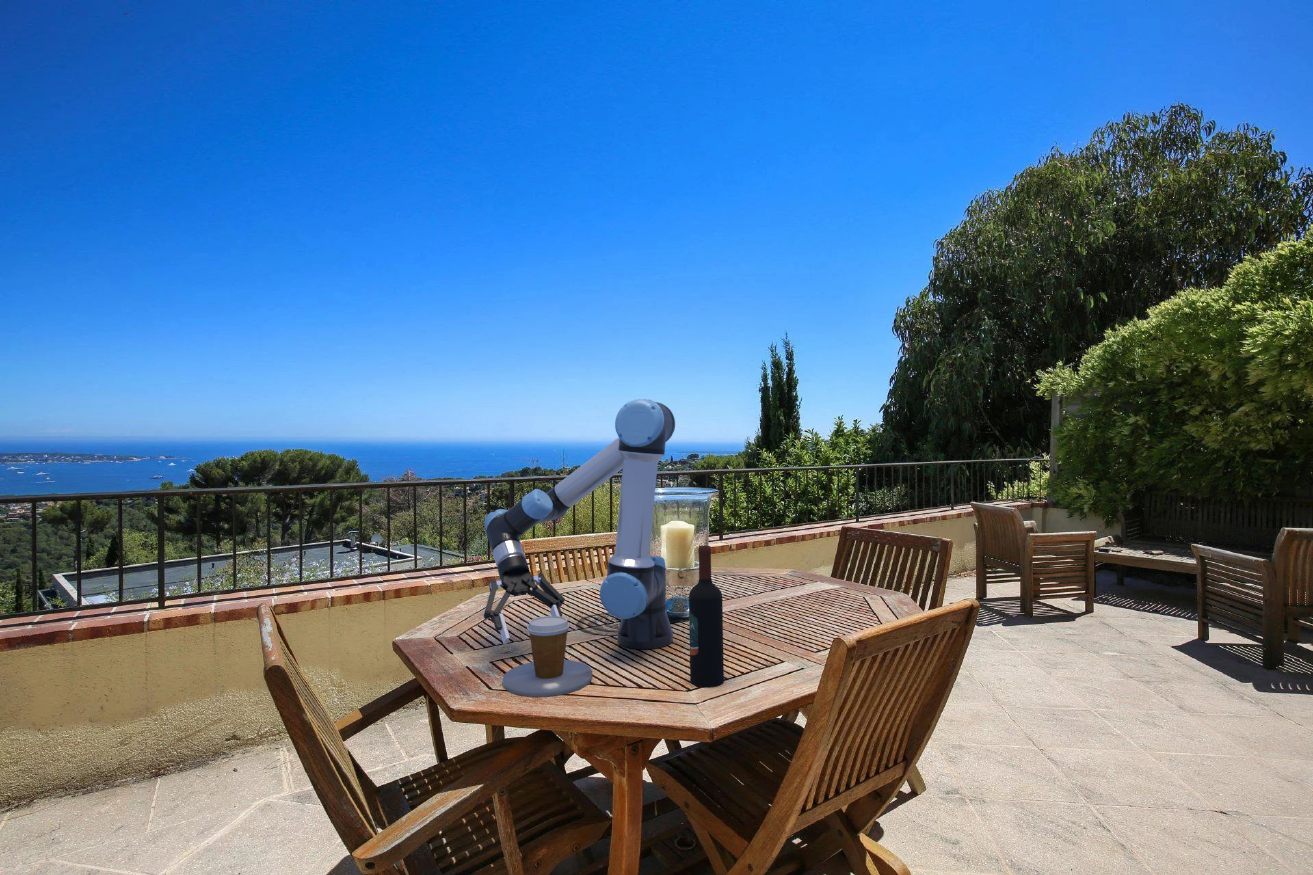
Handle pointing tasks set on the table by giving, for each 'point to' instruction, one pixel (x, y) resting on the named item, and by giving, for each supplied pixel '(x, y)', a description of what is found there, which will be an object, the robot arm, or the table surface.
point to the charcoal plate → (547, 680)
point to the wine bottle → (706, 627)
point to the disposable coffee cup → (548, 645)
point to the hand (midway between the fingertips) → (534, 635)
